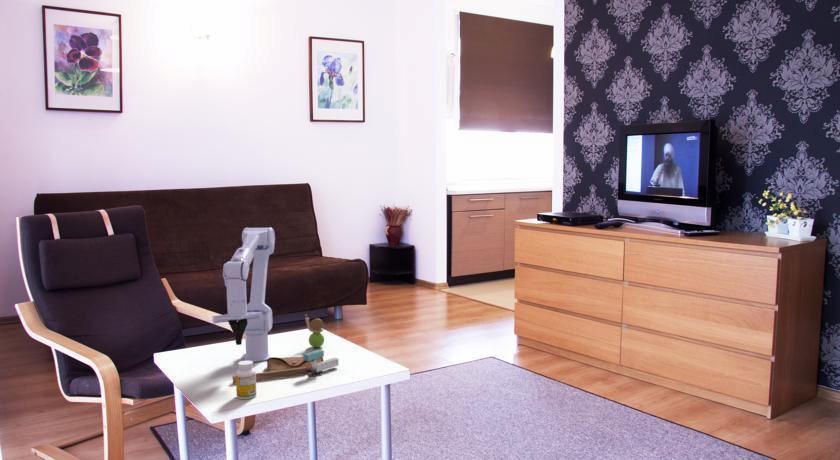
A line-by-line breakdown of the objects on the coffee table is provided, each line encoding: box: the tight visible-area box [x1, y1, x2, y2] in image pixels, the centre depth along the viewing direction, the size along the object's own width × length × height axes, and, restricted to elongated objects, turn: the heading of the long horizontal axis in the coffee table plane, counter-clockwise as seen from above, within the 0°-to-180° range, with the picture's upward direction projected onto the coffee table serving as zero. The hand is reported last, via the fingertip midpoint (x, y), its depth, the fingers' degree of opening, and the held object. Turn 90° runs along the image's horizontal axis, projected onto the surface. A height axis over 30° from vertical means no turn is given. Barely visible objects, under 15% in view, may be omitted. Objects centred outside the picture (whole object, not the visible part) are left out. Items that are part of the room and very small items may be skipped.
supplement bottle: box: [235, 360, 257, 400], centre depth 186 cm, size 5×5×10 cm
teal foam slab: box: [302, 349, 339, 373], centre depth 207 cm, size 12×2×6 cm, turn 139°
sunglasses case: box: [266, 356, 324, 373], centre depth 211 cm, size 18×7×7 cm, turn 99°
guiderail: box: [232, 367, 308, 385], centre depth 202 cm, size 1×22×2 cm, turn 113°
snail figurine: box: [304, 314, 325, 349], centre depth 235 cm, size 5×6×12 cm
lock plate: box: [306, 372, 322, 378], centre depth 205 cm, size 4×4×1 cm
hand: (238, 344), depth 205 cm, fingers closed
